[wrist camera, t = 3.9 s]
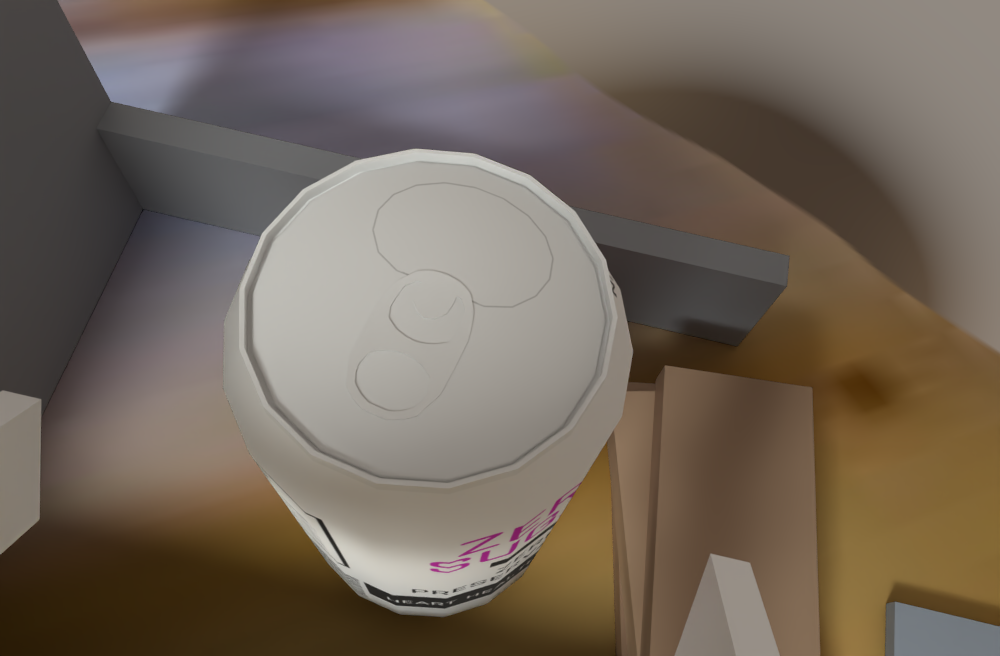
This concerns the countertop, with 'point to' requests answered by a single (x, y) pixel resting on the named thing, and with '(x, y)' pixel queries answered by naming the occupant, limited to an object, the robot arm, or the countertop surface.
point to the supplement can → (427, 371)
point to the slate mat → (937, 633)
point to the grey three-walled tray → (235, 207)
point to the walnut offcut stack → (712, 504)
